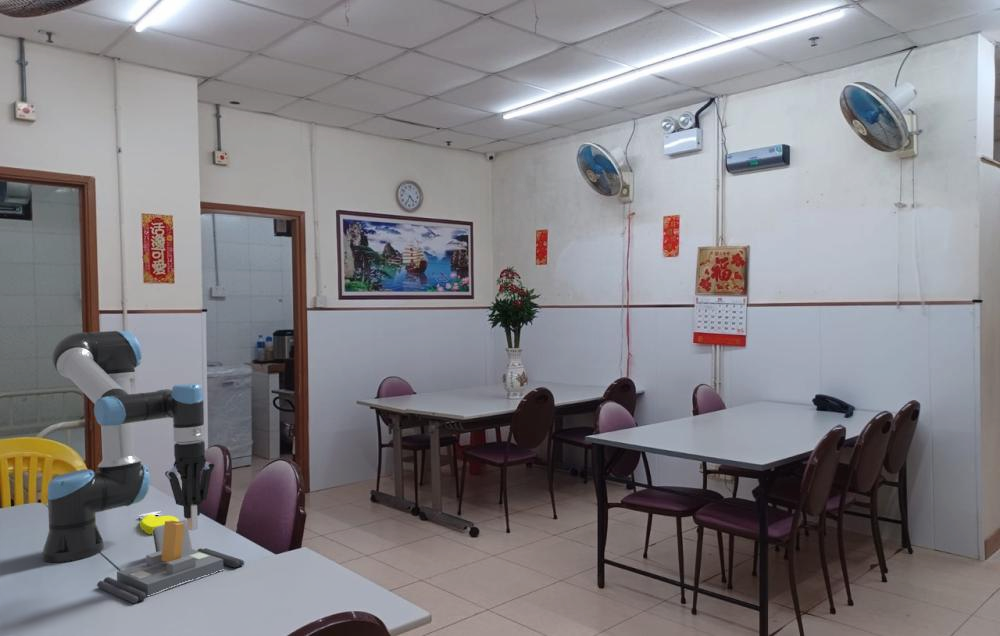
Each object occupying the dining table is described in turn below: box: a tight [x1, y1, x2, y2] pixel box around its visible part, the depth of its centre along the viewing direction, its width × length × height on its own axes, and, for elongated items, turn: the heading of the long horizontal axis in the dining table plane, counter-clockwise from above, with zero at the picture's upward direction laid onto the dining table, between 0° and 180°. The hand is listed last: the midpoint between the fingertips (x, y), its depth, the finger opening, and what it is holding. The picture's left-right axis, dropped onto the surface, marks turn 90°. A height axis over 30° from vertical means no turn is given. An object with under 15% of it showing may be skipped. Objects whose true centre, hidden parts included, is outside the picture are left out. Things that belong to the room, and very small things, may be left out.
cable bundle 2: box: [196, 547, 245, 569], centre depth 191 cm, size 19×3×2 cm, turn 53°
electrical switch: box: [152, 519, 193, 552], centre depth 198 cm, size 9×5×9 cm, turn 141°
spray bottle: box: [137, 510, 180, 535], centre depth 229 cm, size 3×11×24 cm
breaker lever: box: [161, 520, 184, 563], centre depth 181 cm, size 7×2×11 cm, turn 53°
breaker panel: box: [116, 548, 224, 595], centre depth 180 cm, size 16×20×5 cm
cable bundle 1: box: [96, 576, 147, 604], centre depth 170 cm, size 19×3×2 cm, turn 53°
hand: (192, 529), depth 185 cm, fingers closed
